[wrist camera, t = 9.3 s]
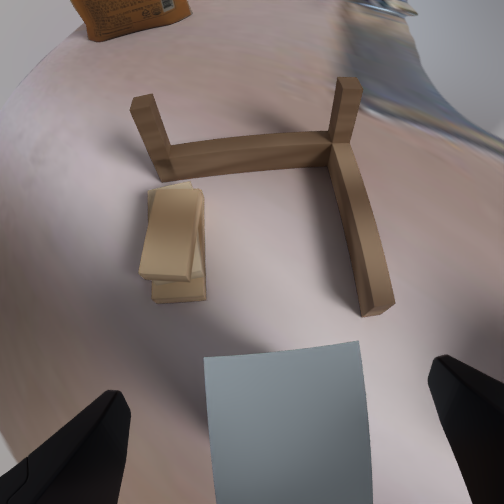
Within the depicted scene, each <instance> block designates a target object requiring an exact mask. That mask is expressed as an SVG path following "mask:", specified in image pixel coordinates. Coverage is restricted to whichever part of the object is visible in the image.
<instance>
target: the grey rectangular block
mask: <svg viewBox="0 0 504 504" xmlns="http://www.w3.org/2000/svg"><path fill="white" fill-rule="evenodd" d="M204 374H205V389H206V403H207V415H208V427H209V438H210V449H211V459H212V469H213V478H214V487H215V495H216V503H217V504H373V489H372V465H371V448H370V434H369V422H368V412H367V402H366V392H365V384H364V375H363V367H362V360H361V353H360V346H359V341H353V342H347V343H341V344H334V345H327V346H320V347H312V348H305V349H296V350H288V351H278V352H268V353H258V354H246V355H233V356H217V357H204Z"/></svg>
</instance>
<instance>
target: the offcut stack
mask: <svg viewBox="0 0 504 504" xmlns="http://www.w3.org/2000/svg"><path fill="white" fill-rule="evenodd" d="M138 274H139V275H140V276H142V277H143V278H144V279H145V280H152V296H151V299H152V300H153V301H154V302H156V303H157V304H162V303H177V302H191V301H204V300H206V273H205V231H204V196H203V193H202V190H200V189H193V187H192V184H191V181H188V182H183V183H178V184H174V185H170V186H165V187H161V188H157V189H152V190H148V228H147V232H146V237H145V241H144V246H143V251H142V256H141V261H140V266H139V272H138Z"/></svg>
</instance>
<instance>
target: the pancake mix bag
mask: <svg viewBox="0 0 504 504" xmlns="http://www.w3.org/2000/svg"><path fill="white" fill-rule="evenodd" d="M70 1H71V3H72V5H73V7H74V8H75V9H76V11H77V12H78V14H79V15H80V17H81V18H82V20H83V21H84V22H85V24H86V27H87V34H88V39H89V40H92V41H95V42H103V41H107V40H110V39H113V38H116V37H120V36H123V35H127V34H130V33H134V32H138V31H141V30H145V29H150V28H154V27H160V26H165V25H170V24H173V23H175V22H178V21H180V20H182V19H184V18H186V17H188V16H189V15H191V14H193V12H192V10H191V8H190V6H189V4H188V1H187V0H70Z"/></svg>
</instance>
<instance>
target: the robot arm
mask: <svg viewBox="0 0 504 504" xmlns="http://www.w3.org/2000/svg"><path fill="white" fill-rule="evenodd" d="M428 385H429V388H430V391H431V394H432V397H433V400H434V403H435V406H436V410H437V413H438V416H439V419H440V422H441V425H442V427H443V430H444V432H445V434H446V437H447V439H448V441H449V444H450V446H451V449H452V451H453V453H454V456H455V458H456V461H457V463H458V466H459V469H460V471H461V474H462V476H463V479H464V482H465V484H466V487H467V490H468V493H469V495H470V498H471V501H472V504H504V383H502V382H500V381H498V380H496V379H494V378H492V377H490V376H488V375H486V374H484V373H482V372H480V371H478V370H476V369H475V368H473V367H471V366H469V365H467V364H465V363H463V362H461V361H459V360H457V359H455V358H453V357H451V356H449V355H442V356H438V357H435V359H434V360H433V363H432V366H431V369H430V372H429V376H428ZM130 420H131V411H130V408H129V406H128V404H127V402H126V400H125V398H124V396H123V394H122V392H120V391H118V390H107V391H105V392H104V393H103V394H102V395H100V396H99V397H98V398H97V399H96V400H94V401H93V402H92V403H91V404H90V405H88V406H87V407H86V408H85V409H84V410H82V411H81V412H80V413H79V414H78V415H76V416H75V417H74V418H73V419H72V420H70V421H69V422H68V423H67V424H66V425H64V426H63V427H62V428H61V429H60V430H58V431H57V432H56V433H55V434H54V435H52V436H51V437H50V438H49V439H48V440H46V441H45V442H44V443H43V444H42V445H40V446H39V447H38V448H37V449H36V450H34V451H33V452H32V453H31V454H29V455H28V457H26V458H24V459H23V460H22V461H21V462H20V463H18V464H17V465H16V466H14V467H13V468H12V469H11V470H9V471H8V472H7V473H5V474H4V475H2V476H1V477H0V504H117V502H118V497H119V492H120V487H121V482H122V477H123V473H124V468H125V463H126V457H127V448H128V438H129V429H130Z"/></svg>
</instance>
